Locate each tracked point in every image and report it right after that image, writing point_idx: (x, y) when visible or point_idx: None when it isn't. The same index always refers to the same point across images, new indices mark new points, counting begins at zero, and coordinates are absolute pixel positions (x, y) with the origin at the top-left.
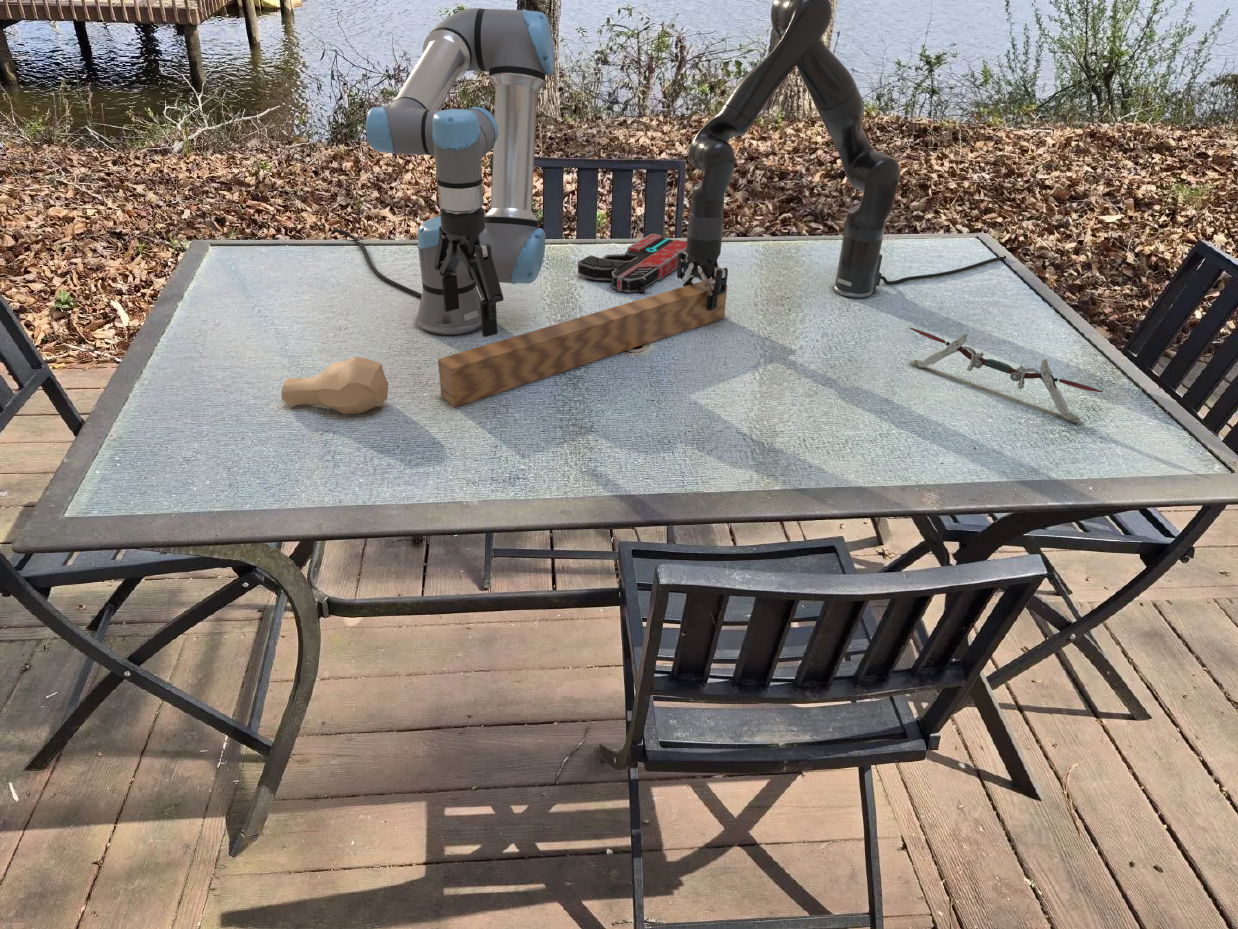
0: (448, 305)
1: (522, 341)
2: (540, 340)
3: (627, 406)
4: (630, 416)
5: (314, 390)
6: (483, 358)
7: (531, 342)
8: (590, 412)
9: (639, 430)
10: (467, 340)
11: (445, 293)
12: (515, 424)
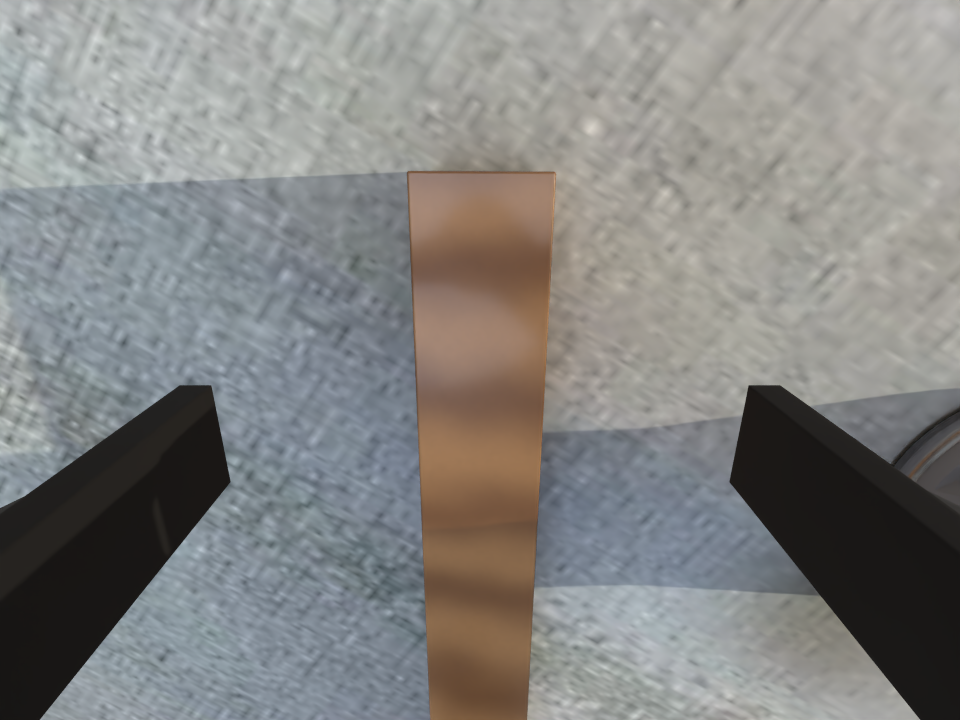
0: (770, 425)
1: (472, 574)
2: (436, 626)
3: (161, 599)
4: None
5: None
6: (421, 369)
7: (442, 595)
8: None
9: None
10: None
11: (852, 472)
12: (207, 293)
